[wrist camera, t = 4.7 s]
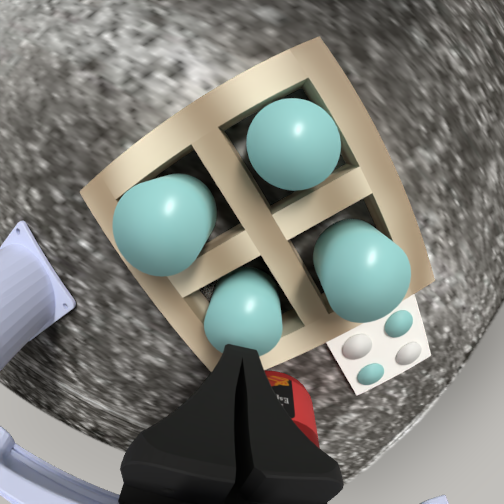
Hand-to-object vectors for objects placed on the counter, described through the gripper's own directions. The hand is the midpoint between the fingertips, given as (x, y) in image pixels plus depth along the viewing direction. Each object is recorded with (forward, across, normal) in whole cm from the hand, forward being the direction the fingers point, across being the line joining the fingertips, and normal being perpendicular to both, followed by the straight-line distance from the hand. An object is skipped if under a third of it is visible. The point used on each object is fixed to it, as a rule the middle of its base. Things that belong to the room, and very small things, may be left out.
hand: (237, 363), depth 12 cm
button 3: (+5, -5, -5) cm, 8 cm away
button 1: (+6, 0, 0) cm, 6 cm away
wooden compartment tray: (+7, 0, -5) cm, 8 cm away
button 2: (+5, +5, -5) cm, 8 cm away
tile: (+7, -11, +2) cm, 13 cm away
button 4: (+6, 0, -9) cm, 11 cm away
